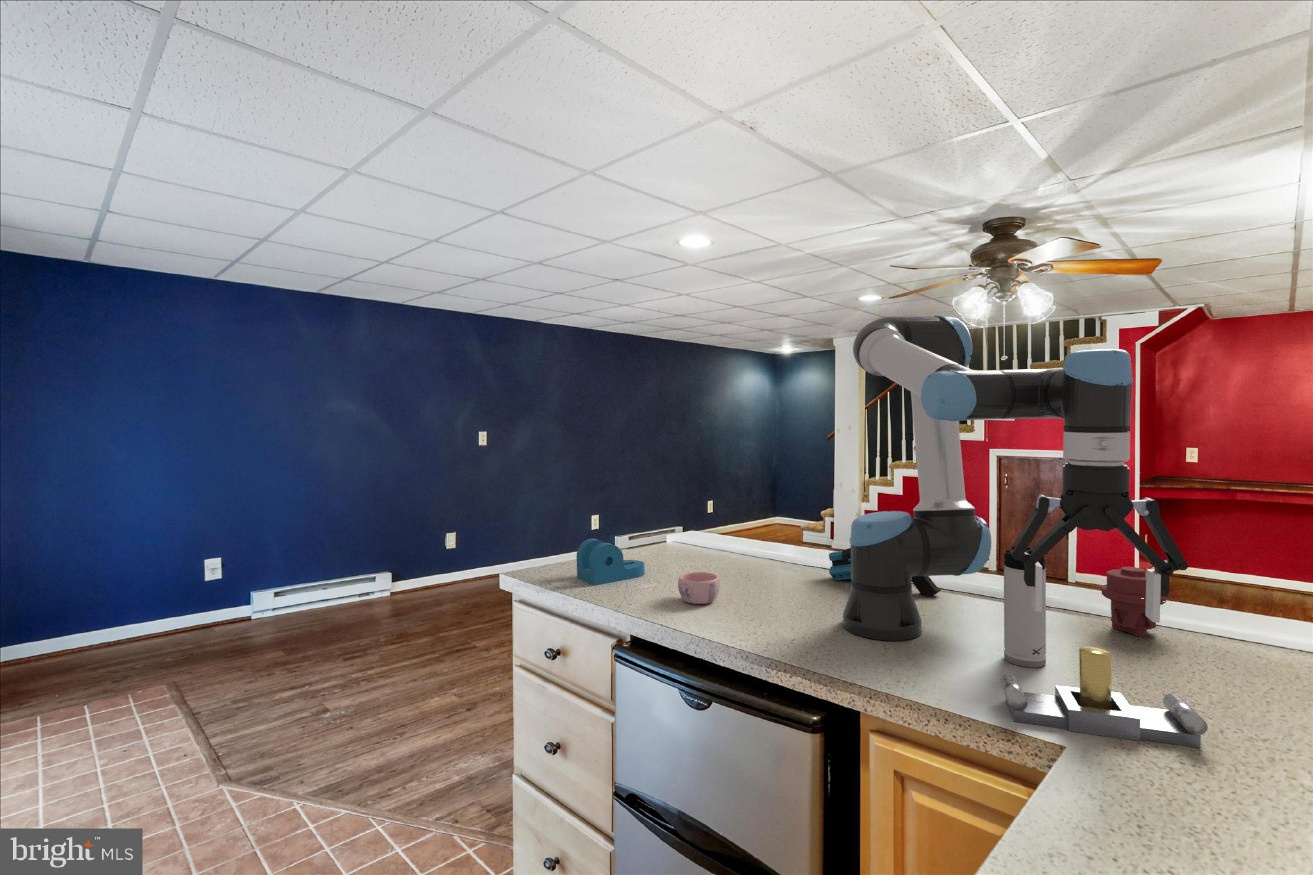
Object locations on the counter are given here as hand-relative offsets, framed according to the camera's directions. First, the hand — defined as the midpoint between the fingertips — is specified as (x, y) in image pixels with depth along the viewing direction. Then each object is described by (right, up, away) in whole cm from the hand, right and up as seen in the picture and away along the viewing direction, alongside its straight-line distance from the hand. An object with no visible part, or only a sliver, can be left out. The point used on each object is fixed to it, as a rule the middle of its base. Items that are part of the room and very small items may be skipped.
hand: (1092, 614), depth 86 cm
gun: (-4, -13, +70) cm, 71 cm away
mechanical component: (+32, -14, +35) cm, 49 cm away
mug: (-52, -15, +62) cm, 82 cm away
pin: (0, -15, 0) cm, 15 cm away
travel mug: (+4, -15, +21) cm, 26 cm away
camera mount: (-73, -14, +86) cm, 113 cm away
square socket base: (0, -15, 0) cm, 15 cm away
